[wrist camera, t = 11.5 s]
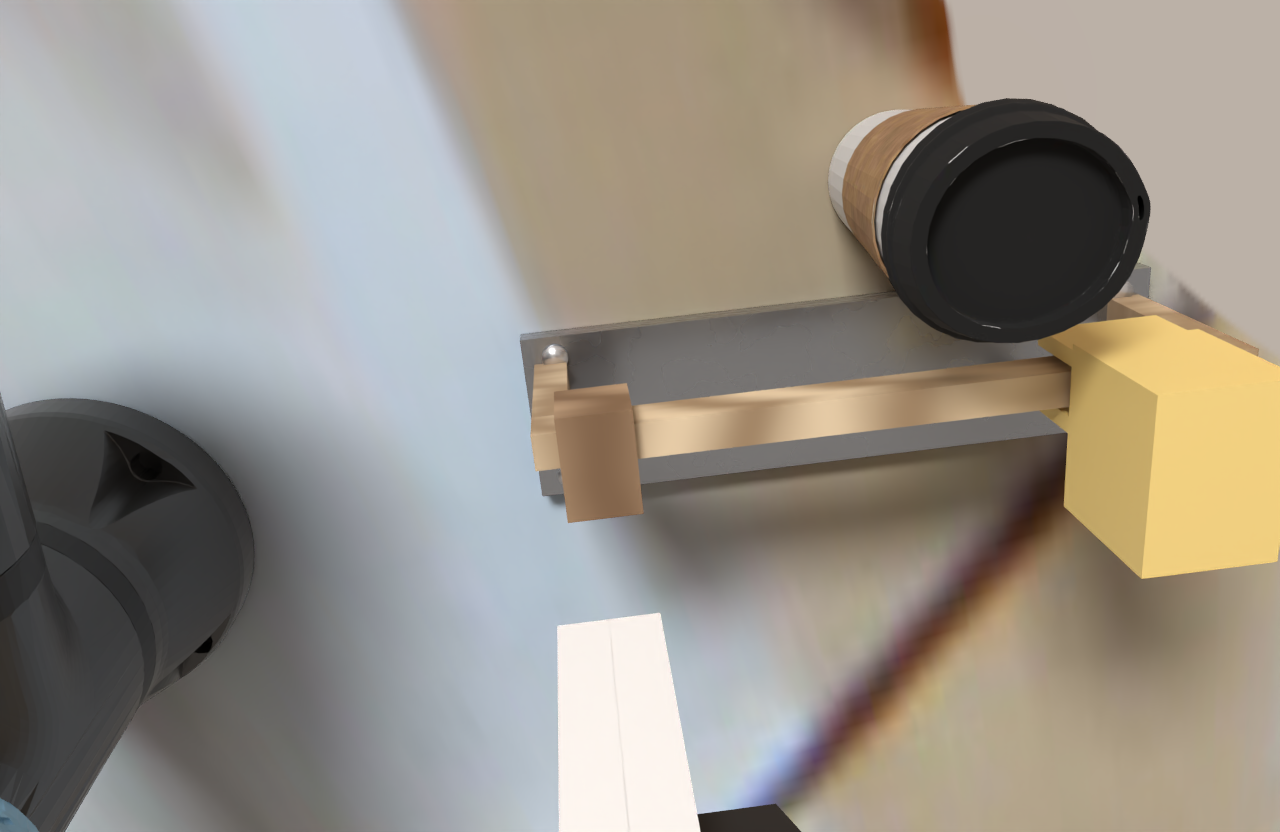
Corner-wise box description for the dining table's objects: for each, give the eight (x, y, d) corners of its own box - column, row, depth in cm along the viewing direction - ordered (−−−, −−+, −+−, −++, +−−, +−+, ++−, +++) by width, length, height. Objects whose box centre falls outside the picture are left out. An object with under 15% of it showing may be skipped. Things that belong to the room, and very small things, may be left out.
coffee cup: (992, 238, 49) (1168, 323, 35) (819, 287, 49) (927, 391, 35) (966, 57, 46) (1148, 70, 32) (782, 110, 46) (883, 146, 32)
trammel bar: (546, 451, 50) (545, 543, 41) (532, 349, 48) (527, 422, 39) (1131, 380, 51) (1253, 455, 42) (1139, 278, 49) (1269, 334, 40)
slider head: (981, 428, 51) (1141, 578, 37) (984, 289, 48) (1157, 395, 34) (1080, 416, 51) (1276, 561, 37) (1088, 277, 48) (1303, 378, 34)
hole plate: (542, 487, 52) (542, 498, 50) (520, 334, 49) (519, 341, 48) (1127, 416, 53) (1140, 425, 52) (1139, 263, 50) (1153, 268, 49)
